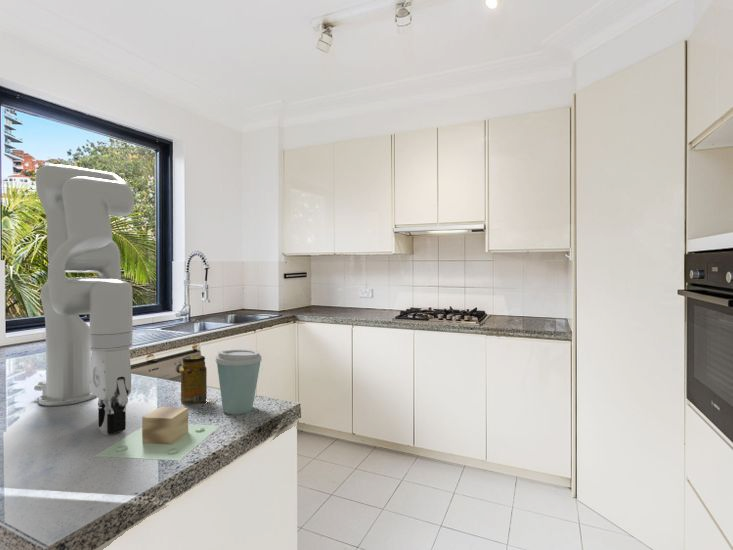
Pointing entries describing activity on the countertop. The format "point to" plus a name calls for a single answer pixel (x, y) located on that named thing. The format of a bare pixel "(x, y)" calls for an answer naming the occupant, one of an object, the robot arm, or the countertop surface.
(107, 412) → the rook chess piece
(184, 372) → the condiment
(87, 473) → the countertop surface
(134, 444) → the build plate
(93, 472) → the countertop surface
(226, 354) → the disposable coffee cup
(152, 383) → the countertop surface
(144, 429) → the oak brick
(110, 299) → the robot arm
